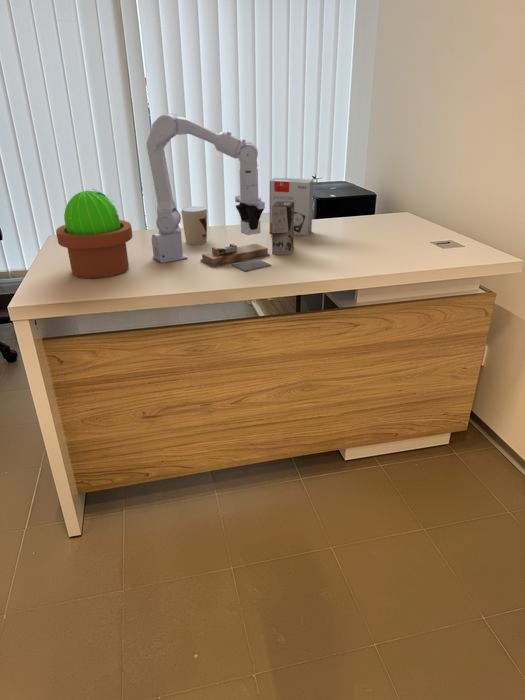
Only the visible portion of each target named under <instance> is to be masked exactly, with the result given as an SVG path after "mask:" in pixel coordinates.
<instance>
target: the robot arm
mask: <svg viewBox="0 0 525 700" xmlns="http://www.w3.org/2000/svg"><path fill="white" fill-rule="evenodd" d="M177 135H178V136H181V135H191V136H194V137H196V138H199V139H200V140H204V141H206V142H208V143H211V144H213V145H214V148H215V150H216V151H218V152H220V153H221V154H225V155H226V156H228V157H231V158H233V159H235V160H236V159H238V161H239V166H240V167H239V190H240V191H239V192H240V193H239V195H235V196H234V199H235V203H239V204H236V205H235V209H236V210H237V212H238V214H239V217H240V221H241V220H247V219H249V221H250V228H251V230H255V229H257V227H258V223H259V220H260V219H261V216H262V214H263V212H264V210H265V209H266V207H265V206H266V205H265V204H266V202H264V201H262V197H259V168H258V167H259V166H258V157H259V150H258V149H257V148H258V147H256V146H255V145H254V144H253V143H252V142H248V141H247V139H244V138H243V139H240V138H239V137H236V136H233V134H232V132H230V131H221V132H220V133H217V132H215V131H213V130H211V129H209V128H207V127H206V126H204V125H201V124H199V123H197V122H195V121H193V120H192V119H189V118H186V117H185V116H184V117H183V116H178V115H177V114H175V113H167V114H162V115H160V116H159V117H157V118H156V119H155V120H154V121H153V123H152V125H151V130H150V133H149V135H148V138H147V141H146V150H147V154H148V160H149V164H150V165H149V166H150V170H151V176H152V180H153V185H154V190H155V191H154V192H155V196H156V201H157V207H156V212H157V218H156V223H155V224H156V227H157V230H158V232H157V233H156V232H155V233H153V234H152V235H151V245H152V246H151V247H152V255H153V256H152V259H155V260H156V261H157V262H160V263H162V264H165V263H169V262H175V261H180V260H185V259H188V258H189V257H188V256H187V255H185V254H184V251H183V240H182V239H183V238H182V230H181V227H180V226H179V224H181V221H182V220H181V219H182V215H181V214H180V213H181V212H179V210H178V209H177V204H176V203H175V201H174V198H173V196H174V195H173V192H172V186H171V182H170V175H169V169H168V164H167V158H166V153H165V148H166V146H167V145H168V143H169V142H170V140H171V139H172V138H174V137H176V136H177Z"/></svg>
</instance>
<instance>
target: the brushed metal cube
mask: <svg viewBox="0 0 525 700" xmlns="http://www.w3.org/2000/svg"><path fill="white" fill-rule="evenodd" d="M240 232H241V234H243V235H246V236H252V235H257V234H261V232H262V231H261V220H260V219H259V223H258V227H257V229H255V230H251V228H250V221H249V219H247V220H241V219H240Z"/></svg>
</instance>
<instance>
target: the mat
mask: <svg viewBox="0 0 525 700" xmlns="http://www.w3.org/2000/svg"><path fill="white" fill-rule="evenodd" d="M231 266H232V267H234V268H236V269H238V270H240V271H242V272H245V273H246V272H250V271H256V270H259V269H264V268H268V267H272V264H270V263H268V262H266V261H263V260H262V259H259V258H255V259H250V260H245V261H240V262H235V263H231Z"/></svg>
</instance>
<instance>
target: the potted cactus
mask: <svg viewBox="0 0 525 700" xmlns="http://www.w3.org/2000/svg"><path fill="white" fill-rule="evenodd" d="M113 202H114V200H111V199H110V198H109V196H107V195H106V194H105V193H103V192H101V191H99V190H96V189H94V188H92V190H83V191H82V190H80V191H79V192H78V193H75V194H74V195H73V196H72V197H71V198H70V199H69V201H68V202H67V203H66V205H65V207H63V209H64V213H63V215H64V216H63V217H64V219H63V221H64V224H63V225H61V226H59V227H58V228H56V230H55V234H56V238H57V243H58V245H59V246H60V247H63V248H66V249H67V252H68V253H67V254H68V258H69V264H70V268H71V273H72V275H74V276H76V277H78V278H82V279H101V278H102V279H103V278H108V277H114V276H115V277H116V276H118V275H120V274H123V273H125V272H127V271H128V269H129V266H130V265H129V257H128V256H129V255H128V249H127V242H129V241H131V240H132V239H133V230H132V224H131V223H130V222H129V221H127V220H123V219H120V217H119V213H118V210H117V209H116V207H115V205H114V204H113Z"/></svg>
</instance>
